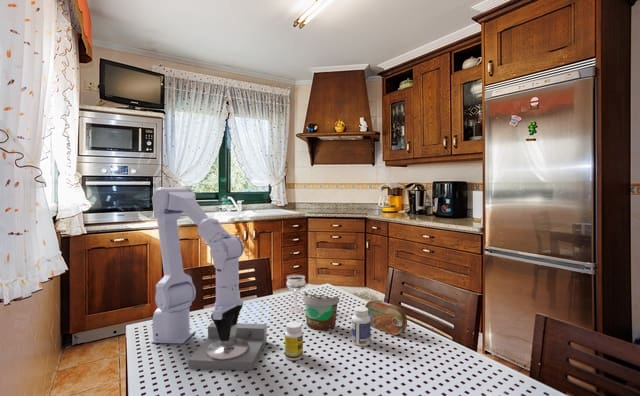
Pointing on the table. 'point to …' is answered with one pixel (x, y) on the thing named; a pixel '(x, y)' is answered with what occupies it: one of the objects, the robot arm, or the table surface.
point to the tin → (386, 317)
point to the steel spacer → (231, 337)
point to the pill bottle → (361, 326)
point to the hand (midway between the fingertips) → (227, 336)
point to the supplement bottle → (294, 341)
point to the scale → (256, 343)
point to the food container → (320, 311)
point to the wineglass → (295, 288)
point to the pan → (227, 350)
